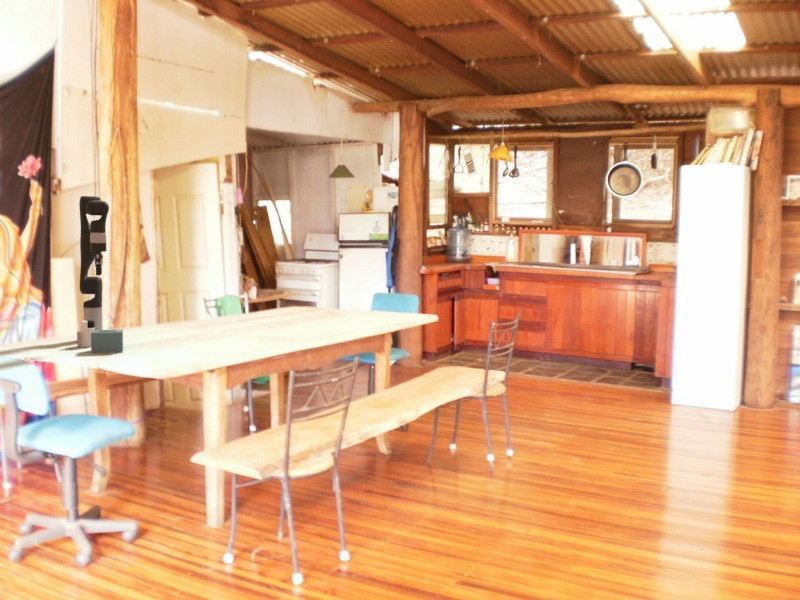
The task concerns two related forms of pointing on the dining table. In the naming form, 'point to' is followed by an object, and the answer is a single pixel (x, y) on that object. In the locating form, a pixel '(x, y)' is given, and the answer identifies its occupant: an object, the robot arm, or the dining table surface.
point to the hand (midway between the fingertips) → (98, 274)
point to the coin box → (107, 341)
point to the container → (85, 333)
